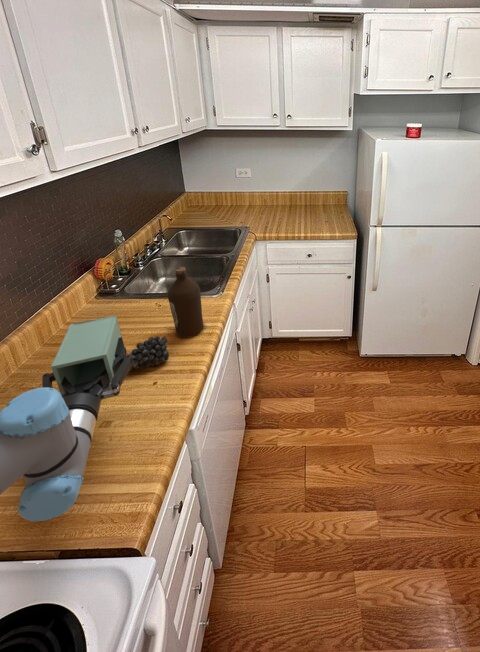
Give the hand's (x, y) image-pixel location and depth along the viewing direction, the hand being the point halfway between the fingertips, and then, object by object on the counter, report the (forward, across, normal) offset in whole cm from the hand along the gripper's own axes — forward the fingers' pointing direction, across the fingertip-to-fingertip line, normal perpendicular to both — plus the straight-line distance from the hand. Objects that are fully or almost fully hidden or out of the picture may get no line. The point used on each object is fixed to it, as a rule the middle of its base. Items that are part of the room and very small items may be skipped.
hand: (96, 347), depth 82 cm
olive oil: (+28, +20, -21) cm, 40 cm away
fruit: (+15, +7, -21) cm, 27 cm away
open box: (-4, 0, 0) cm, 4 cm away
